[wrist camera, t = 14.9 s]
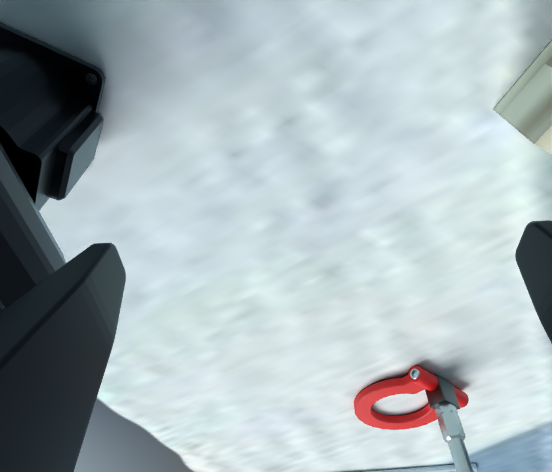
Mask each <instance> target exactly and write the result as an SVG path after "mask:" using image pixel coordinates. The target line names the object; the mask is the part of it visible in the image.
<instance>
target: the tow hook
mask: <svg viewBox="0 0 552 472" xmlns="http://www.w3.org/2000/svg"><path fill="white" fill-rule="evenodd" d="M424 389H425V391H426V395H427V398H428V402H429V403H428V405H427V406H426V407H425V408H423V409H422V410H420V411H418V412H415V413H412V414H407V415H400V416H390V415H383V414H380V413H377V412H375V411H374V410H373V409H372V408H371V407H372V405H373V404H374V403H375V402H376V401H378V400H380V399H382V398H384V397H387V396H390V395H395V394H406V393H408V394H415V393H418V392H420V391H422V390H424ZM467 403H468V396H467V394H466V393H464V392H463V391H461V390H459V389H457V388H456V387H454V386H452V384H451V383H449V382H447V381H446V380H444V379H442V378H440V377H439V376H437V375H435V374H431V373H429V372H428V371H426V370H424V369H422V368H421V367H419V366H413V367H411V368H410V370H409V372H408V375H406V376H404V377H402V378H394V379H389V380H384V381H380V382H378V383H375V384H372V385H370V386H369V387H367V388H365V389H363V390H362V391H361V392H360V393H359V394H358V395H357V396H356V398H355V401H354V409H355V414H356V416H357V417H358V419H359V420H361V421H362V422H364V423H365V424H367V425H370V426H372V427H376V428H381V429H391V430H398V429H409V428H415V427H419V426H422V425H426V424H428V423H430V422H433V421H435V420H436V419H438V422H439V425H440V429H441V432H442V436H443V439H444V440H445V441H446V442H447V443H448V445H449V448H450V452H451V455H452V459H453V462H454V465H455V469H456V472H474V471H473V468H472V465H471V462H470V459H469V456H468V453H467V450H466V447H465V444H464V439H465V433H464V430H463V427H462V424H461V421H460V418H459V416H458V412H457V409H460V407H465V406H466V405H467Z"/></svg>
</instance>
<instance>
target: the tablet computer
mask: <svg viewBox="0 0 552 472" xmlns="http://www.w3.org/2000/svg"><path fill="white" fill-rule="evenodd" d="M471 465H472V468H473V471H474V472H476V471H477V467H476V464H474V463H471ZM364 472H456V469H455V465H454V464H452V465H442V466H430V467H417V468H404V469H390V470H377V471H364Z"/></svg>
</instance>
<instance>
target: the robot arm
mask: <svg viewBox="0 0 552 472" xmlns="http://www.w3.org/2000/svg"><path fill="white" fill-rule="evenodd" d="M89 73H90V74H93V75H95V77H96V78H97V82H93V81H92V80H90V78H89ZM104 83H105V76H104V73H103V72H102V71H101V69H99V68H98V67H96V66H94V65H92V64H90V63H88V62H85V61H83V60H81V59H79V58H77V57H75V56H72V55H70V54H68V53H66V52H64V51H61V50H59V49H57V48H55V47H53V46H51V45H48V44H46V43H44V42H42V41H40V40H38V39H35V38H33V37H31V36H29V35H27V34H24V33H22V32H20V31H18V30H16V29H14V28H11V27H9V26H7V25H5V24H3V23H0V472H74V469H75V465H76V462H77V459H78V456H79V453H80V449H81V446H82V443H83V440H84V436H85V433H86V430H87V427H88V424H89V420H90V417H91V414H92V411H93V408H94V404H95V401H96V398H97V395H98V392H99V388H100V385H101V382H102V379H103V376H104V372H105V369H106V366H107V363H108V359H109V356H110V353H111V350H112V346H113V343H114V339H115V334H116V329H117V324H118V319H119V313H120V308H121V302H122V297H123V291H124V286H125V280H126V273H125V269H124V267H123V264H122V261H121V259H120V256H119V254H118V251H117V249H116V247H115V245H114V244H112V243H97V244H93V245H91V246H90V247H88V248H87V249H86V250H84V251H83V252H81V253H80V254H79V255H77V256H76V257H75V258H73V259H72V260H70V261H69V262H68V263H66V262H65V259H64V256H63V253H62V252H61V250H60V248H59V246H58V244H57V243H56V241H55V239H54V237H53V236H52V234H51V232H50V230H49V228H48V227H47V225H46V223H45V221H44V220H43V218H42V216H41V214H40V212H39V210H40V209H41V208H42V207H43V205H44V204H45V203H46V202H47V200H48V199H49V198H53V199H56V200H61V199H64V198H65V197H66V196H67V195H68V193H69V192H70V191H71V189H72V188H73V187H74V185H75V184H76V182H77V181H78V180H79V179H80V177H81V176H82V174H83V173H84V172H85V170H86V169H87V168H88V166H89V165H90V163H91V162H92V161H93V159H94V156H95V152H96V148H97V144H98V140H99V136H100V132H101V128H102V124H103V117H102V115H101V114H100V113H98V108H99V104H100V100H101V96H102V92H103V88H104ZM516 261H517V264H518V267H519V269H520V272H521V274H522V277H523V280H524V282H525V285H526V287H527V290H528V292H529V295H530V297H531V300H532V302H533V305H534V307H535V310H536V312H537V315H538V317H539V319H540V321H541V323H542V325H543V327H544V329H545V331H546V333H547V335H548V337H549V339H550V341H551V343H552V221H532V222H530V223H529V224H528V225H527V226H526V228H525V230H524V233H523V235H522V237H521V240H520V242H519V245H518V247H517V250H516Z"/></svg>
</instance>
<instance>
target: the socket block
mask: <svg viewBox="0 0 552 472" xmlns="http://www.w3.org/2000/svg"><path fill="white" fill-rule="evenodd" d="M493 110H494V111H495V112H497V113H498V114H499V115H500V116H501V117H502V118H504V119H505V120H506V121H507V122H508V123H510V124H511V125H512V126H513V127H514V128H516V129H517V130H518V131H519V132H520V133H522V134H523V135H524V136H525V137H526V138H527V139H529V140H530V141H531V142H532V143H533V144H535V145H537V146H538V147H540V148H542V149H543V150H545V151H547V152H548V153H550V154H552V41H551V42H550V43H549V44H548V46H547V47H546V48H545V49H544V50H543V51H542V53H541V54H540V55H539V56H538V57H537V59H536V60H535V61H534V62H533V63H532V64H531V66H530V67H529V68H528V69H527V70H526V71H525V73H524V74H523V75H522V76H521V77H520V79H519V80H518V81H517V82H516V83H515V84H514V86H513V87H512V88H511V89H510V90H509V91H508V93H507V94H506V95H505V96H504V97H503V99H502V100H501V101H500V102H499V103H498V104H497V106H496V107H495V108H494V109H493Z"/></svg>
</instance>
